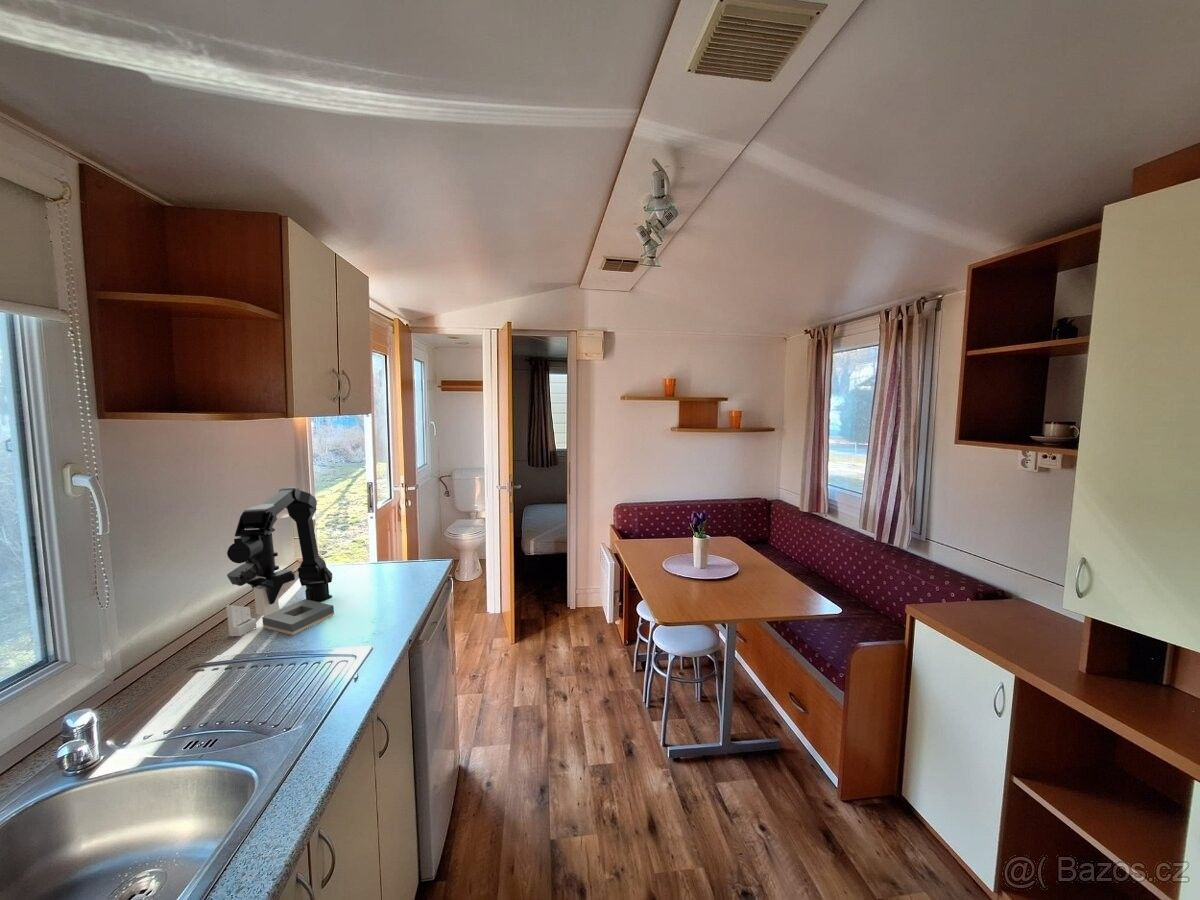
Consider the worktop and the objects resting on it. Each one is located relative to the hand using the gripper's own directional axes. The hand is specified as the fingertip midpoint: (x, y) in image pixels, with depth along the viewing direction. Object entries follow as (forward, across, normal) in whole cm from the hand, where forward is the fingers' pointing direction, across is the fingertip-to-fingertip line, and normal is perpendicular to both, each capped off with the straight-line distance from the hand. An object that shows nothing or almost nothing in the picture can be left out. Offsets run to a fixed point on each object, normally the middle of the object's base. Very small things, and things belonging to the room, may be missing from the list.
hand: (267, 602), depth 137 cm
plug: (+3, 0, 0) cm, 3 cm away
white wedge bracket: (+13, -16, +2) cm, 21 cm away
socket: (+13, -6, +13) cm, 19 cm away
